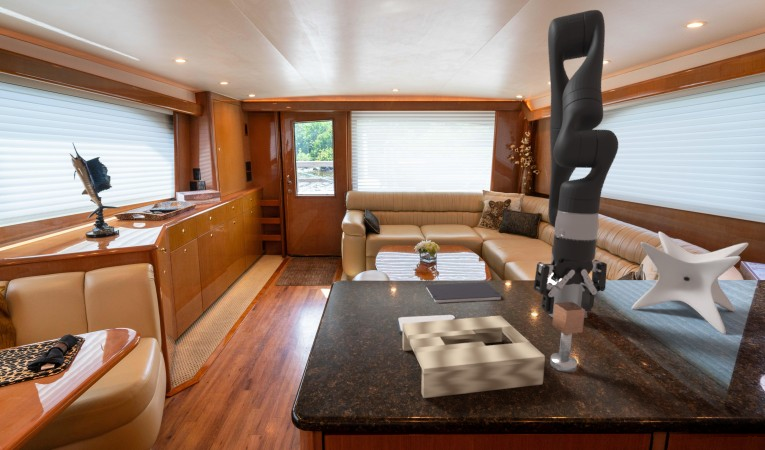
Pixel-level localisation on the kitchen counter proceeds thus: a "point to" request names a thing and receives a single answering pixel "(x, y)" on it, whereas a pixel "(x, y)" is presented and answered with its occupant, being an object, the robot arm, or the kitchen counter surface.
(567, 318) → the footed peg
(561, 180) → the robot arm
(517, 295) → the kitchen counter surface
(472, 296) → the notebook
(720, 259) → the white spiked concave cube
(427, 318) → the smartphone
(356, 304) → the kitchen counter surface
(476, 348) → the keyhole plate
